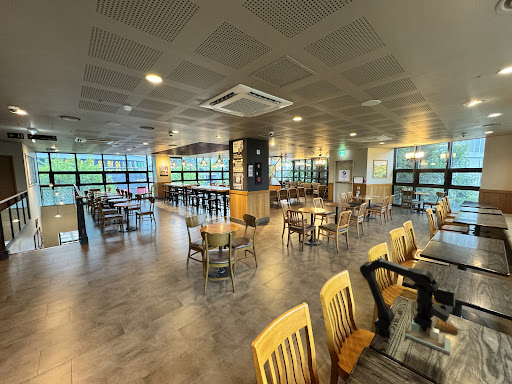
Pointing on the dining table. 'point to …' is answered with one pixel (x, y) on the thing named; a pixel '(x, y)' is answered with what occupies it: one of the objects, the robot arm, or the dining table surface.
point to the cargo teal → (414, 326)
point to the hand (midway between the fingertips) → (424, 329)
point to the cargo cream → (434, 333)
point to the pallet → (426, 336)
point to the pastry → (445, 327)
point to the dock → (446, 350)
